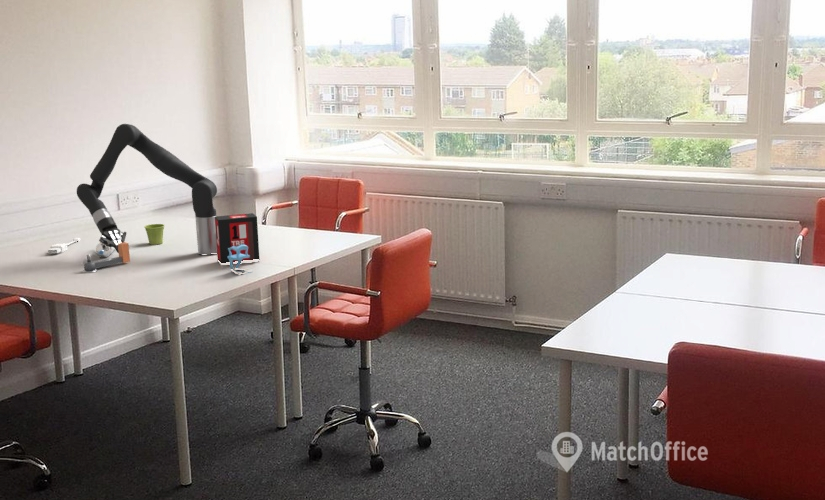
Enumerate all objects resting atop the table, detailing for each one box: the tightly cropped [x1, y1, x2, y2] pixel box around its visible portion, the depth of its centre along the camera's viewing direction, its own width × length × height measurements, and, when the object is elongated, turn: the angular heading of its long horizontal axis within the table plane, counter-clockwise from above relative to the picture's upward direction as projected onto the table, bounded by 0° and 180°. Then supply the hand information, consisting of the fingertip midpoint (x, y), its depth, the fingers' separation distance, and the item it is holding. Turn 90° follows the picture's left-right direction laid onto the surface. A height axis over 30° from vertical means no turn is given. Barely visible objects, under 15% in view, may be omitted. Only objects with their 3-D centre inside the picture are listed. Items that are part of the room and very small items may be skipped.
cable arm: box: [83, 241, 131, 271], centre depth 383 cm, size 20×4×8 cm, turn 139°
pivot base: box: [82, 254, 99, 274], centre depth 377 cm, size 6×6×7 cm
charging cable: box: [47, 237, 81, 254], centre depth 424 cm, size 5×32×3 cm, turn 0°
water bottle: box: [94, 241, 116, 259], centre depth 409 cm, size 7×7×25 cm
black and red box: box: [215, 212, 260, 263], centre depth 387 cm, size 16×9×20 cm, turn 111°
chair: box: [227, 244, 250, 270], centre depth 370 cm, size 8×8×12 cm
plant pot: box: [143, 223, 166, 246], centre depth 427 cm, size 9×9×9 cm
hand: (121, 252), depth 391 cm, fingers closed
